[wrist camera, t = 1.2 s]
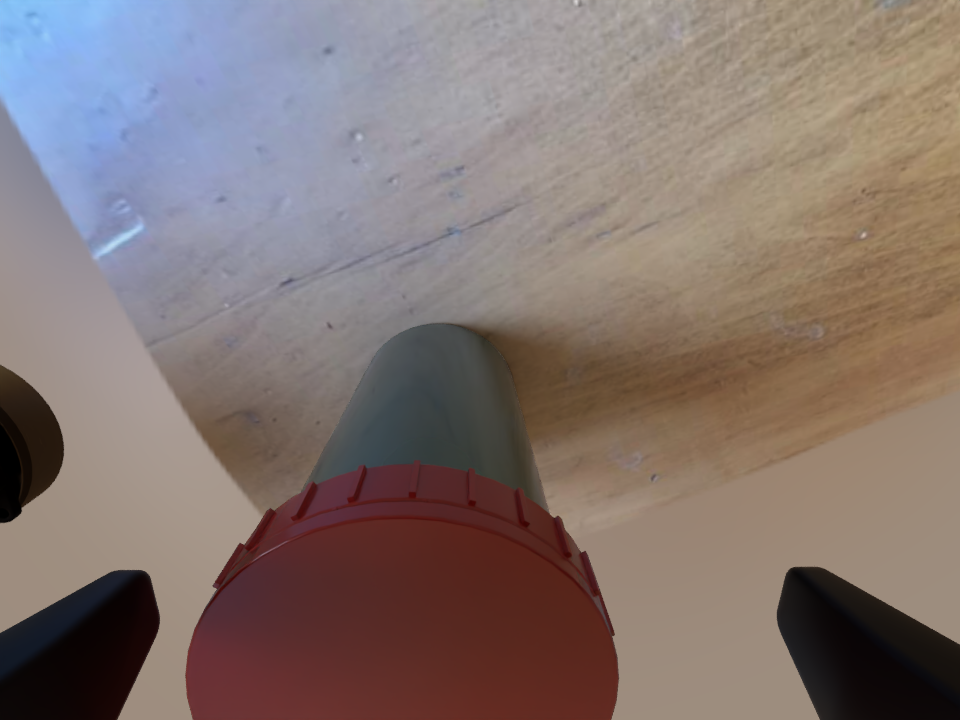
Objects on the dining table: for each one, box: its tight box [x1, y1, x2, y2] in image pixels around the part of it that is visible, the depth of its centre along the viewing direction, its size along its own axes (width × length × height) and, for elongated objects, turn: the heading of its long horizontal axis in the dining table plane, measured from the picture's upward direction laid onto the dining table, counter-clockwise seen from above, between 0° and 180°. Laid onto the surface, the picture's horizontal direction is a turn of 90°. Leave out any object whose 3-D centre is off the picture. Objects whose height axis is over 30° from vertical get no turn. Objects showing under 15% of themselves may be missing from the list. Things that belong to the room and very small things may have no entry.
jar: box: [301, 324, 550, 514], centre depth 14 cm, size 6×6×12 cm
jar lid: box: [185, 460, 619, 720], centre depth 9 cm, size 7×7×2 cm
